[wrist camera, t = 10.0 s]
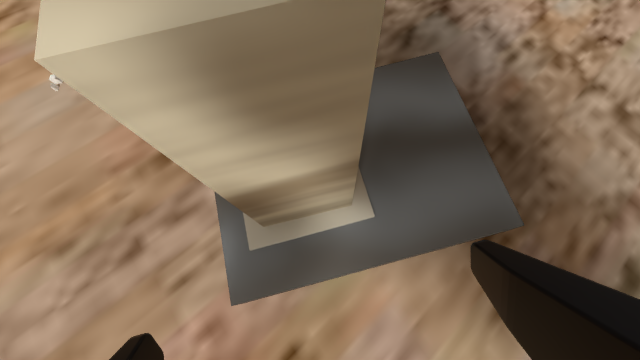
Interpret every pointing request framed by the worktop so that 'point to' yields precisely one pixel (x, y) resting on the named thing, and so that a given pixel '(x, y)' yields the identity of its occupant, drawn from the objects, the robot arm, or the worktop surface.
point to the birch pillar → (230, 89)
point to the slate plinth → (382, 193)
